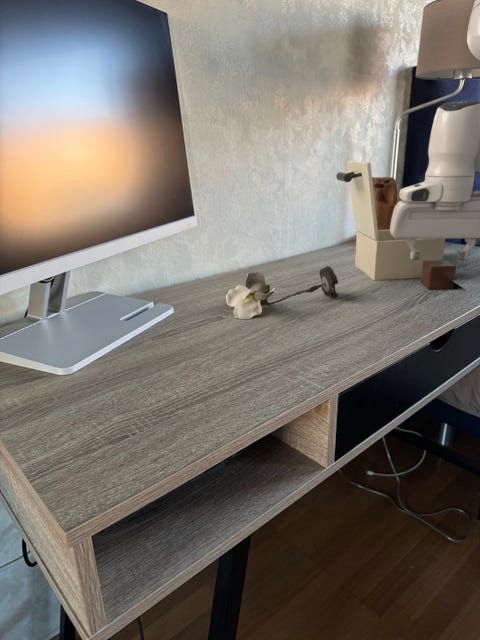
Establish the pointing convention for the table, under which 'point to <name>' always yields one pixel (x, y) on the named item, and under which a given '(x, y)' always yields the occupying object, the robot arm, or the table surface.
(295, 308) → the table surface
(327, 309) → the table surface
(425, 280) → the cube
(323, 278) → the artificial flower
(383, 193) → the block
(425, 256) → the beige open box
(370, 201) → the lid
